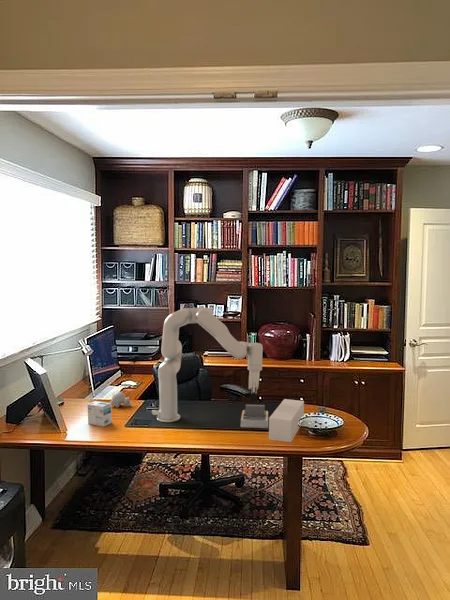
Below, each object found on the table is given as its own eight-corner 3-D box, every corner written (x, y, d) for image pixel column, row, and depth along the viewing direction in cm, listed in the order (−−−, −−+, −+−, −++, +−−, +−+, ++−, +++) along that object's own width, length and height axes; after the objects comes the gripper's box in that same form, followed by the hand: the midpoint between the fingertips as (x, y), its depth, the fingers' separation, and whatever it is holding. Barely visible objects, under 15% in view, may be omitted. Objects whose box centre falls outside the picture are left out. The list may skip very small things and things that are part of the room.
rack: (240, 427, 240) (240, 419, 240) (242, 416, 256) (242, 409, 256) (267, 428, 239) (268, 420, 239) (268, 417, 255) (268, 410, 254)
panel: (245, 420, 247) (245, 405, 246) (245, 419, 249) (245, 404, 248) (264, 421, 246) (264, 406, 245) (264, 419, 248) (264, 405, 247)
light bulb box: (112, 423, 247) (111, 402, 246) (103, 427, 241) (103, 406, 240) (96, 420, 251) (95, 400, 250) (87, 424, 245) (87, 403, 244)
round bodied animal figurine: (126, 413, 270) (131, 399, 269) (107, 404, 271) (112, 391, 270) (130, 408, 277) (135, 396, 276) (112, 400, 278) (116, 387, 277)
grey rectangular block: (290, 442, 221) (291, 420, 220) (268, 439, 224) (269, 417, 224) (303, 420, 251) (304, 401, 250) (284, 418, 254) (284, 398, 253)
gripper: (248, 363, 253) (247, 396, 254) (246, 369, 238) (245, 405, 240) (262, 363, 252) (261, 397, 254) (261, 370, 237) (260, 406, 239)
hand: (253, 401), depth 247 cm, fingers closed
